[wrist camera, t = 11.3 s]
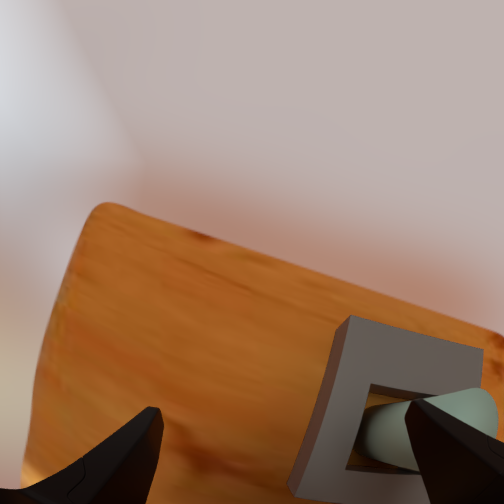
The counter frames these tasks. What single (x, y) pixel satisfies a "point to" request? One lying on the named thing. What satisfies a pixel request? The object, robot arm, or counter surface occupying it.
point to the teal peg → (395, 432)
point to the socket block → (353, 403)
